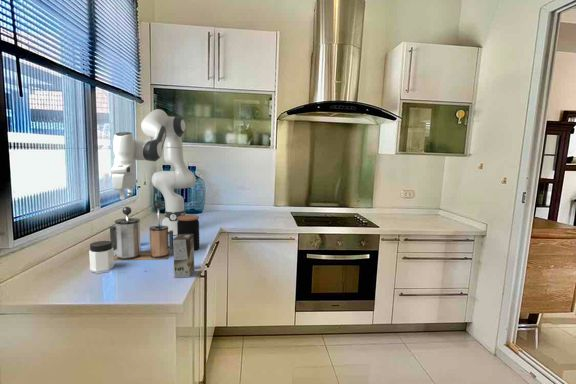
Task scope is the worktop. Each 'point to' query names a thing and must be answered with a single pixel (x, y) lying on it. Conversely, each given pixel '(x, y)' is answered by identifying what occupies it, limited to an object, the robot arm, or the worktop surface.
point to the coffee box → (183, 255)
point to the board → (145, 256)
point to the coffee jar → (189, 227)
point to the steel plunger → (126, 212)
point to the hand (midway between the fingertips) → (126, 197)
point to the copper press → (160, 241)
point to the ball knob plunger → (158, 205)
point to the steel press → (126, 238)
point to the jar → (101, 256)
